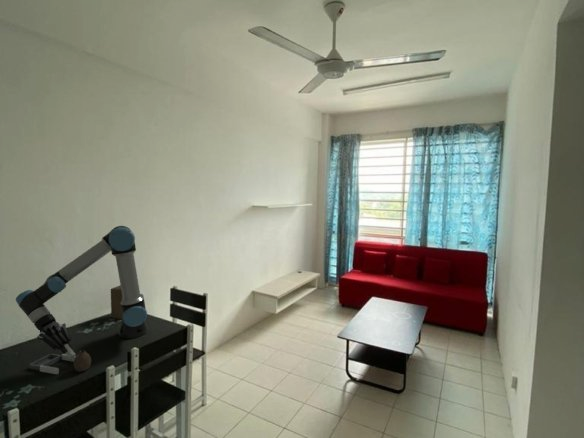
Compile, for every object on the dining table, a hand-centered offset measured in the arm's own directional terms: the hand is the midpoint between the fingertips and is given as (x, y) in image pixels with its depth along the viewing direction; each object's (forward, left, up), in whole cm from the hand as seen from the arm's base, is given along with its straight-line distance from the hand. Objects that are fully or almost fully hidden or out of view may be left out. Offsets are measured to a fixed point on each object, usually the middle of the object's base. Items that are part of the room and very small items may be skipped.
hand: (72, 356), depth 149 cm
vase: (-5, +1, -6) cm, 8 cm away
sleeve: (+7, -2, -6) cm, 9 cm away
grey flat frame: (+15, -5, -6) cm, 17 cm away
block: (+4, -66, -6) cm, 66 cm away
